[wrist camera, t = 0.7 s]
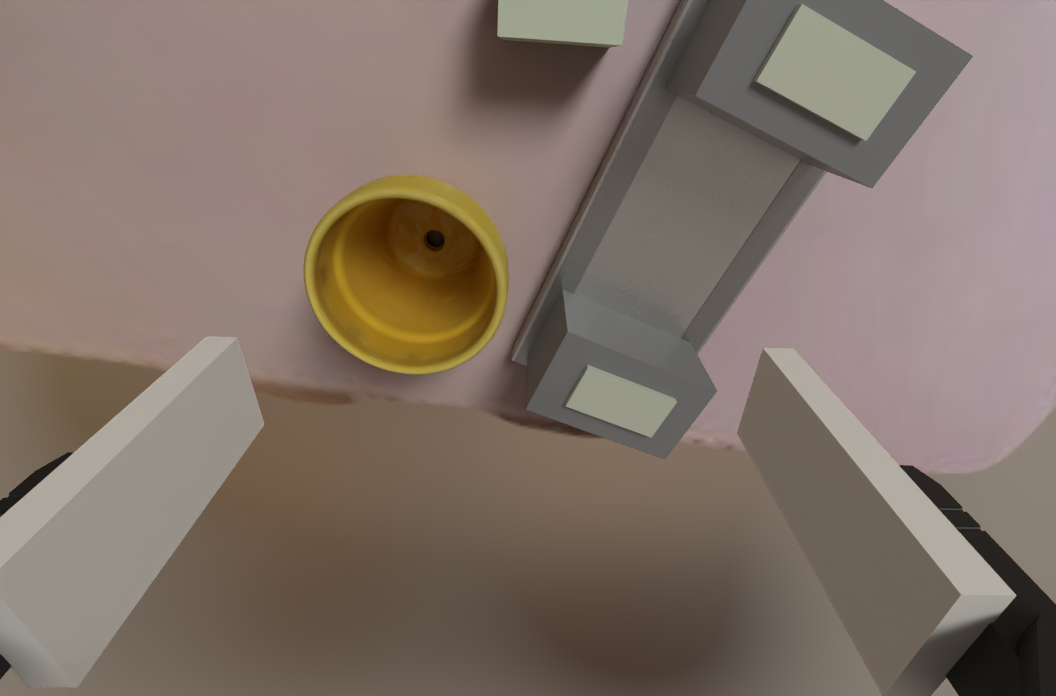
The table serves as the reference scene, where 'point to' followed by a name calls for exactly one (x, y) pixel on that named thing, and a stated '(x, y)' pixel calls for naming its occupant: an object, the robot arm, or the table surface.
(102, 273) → the table surface
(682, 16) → the rail
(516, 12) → the block
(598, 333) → the module far
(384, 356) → the plant pot
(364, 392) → the table surface
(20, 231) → the table surface
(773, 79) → the block
